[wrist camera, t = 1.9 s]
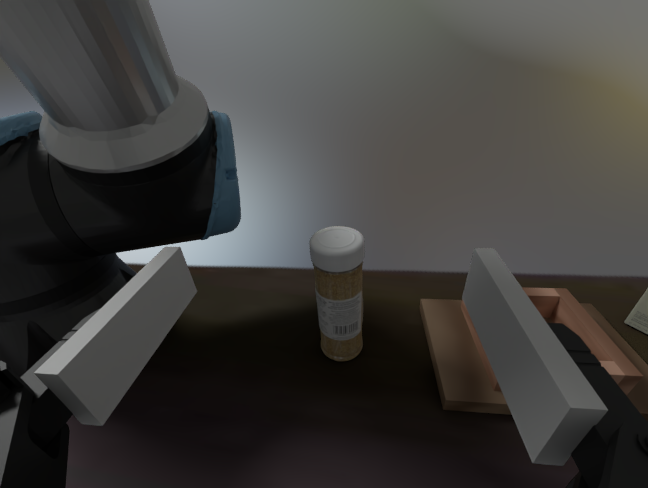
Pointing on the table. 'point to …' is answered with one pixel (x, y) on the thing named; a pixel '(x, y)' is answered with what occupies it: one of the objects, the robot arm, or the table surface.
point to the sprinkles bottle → (339, 290)
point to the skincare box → (639, 314)
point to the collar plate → (474, 367)
